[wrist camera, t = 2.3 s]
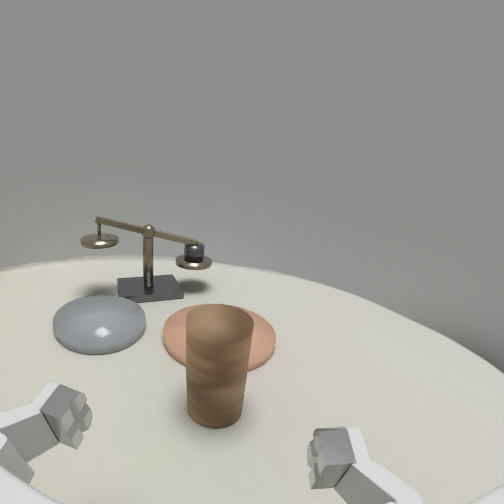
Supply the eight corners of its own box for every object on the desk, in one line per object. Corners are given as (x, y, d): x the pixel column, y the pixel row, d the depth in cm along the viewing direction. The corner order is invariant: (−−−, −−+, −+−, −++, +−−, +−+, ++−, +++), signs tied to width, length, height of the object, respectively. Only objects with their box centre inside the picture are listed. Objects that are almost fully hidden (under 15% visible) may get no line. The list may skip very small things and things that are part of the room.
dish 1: (37, 338, 27) (34, 330, 26) (84, 296, 39) (83, 289, 39) (123, 365, 27) (121, 357, 26) (158, 310, 39) (158, 303, 39)
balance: (85, 307, 36) (78, 222, 33) (86, 287, 42) (81, 212, 38) (216, 294, 47) (222, 218, 43) (201, 277, 53) (206, 210, 49)
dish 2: (148, 362, 28) (147, 354, 28) (178, 305, 42) (178, 298, 41) (276, 380, 28) (278, 372, 28) (272, 317, 42) (273, 310, 41)
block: (182, 423, 21) (178, 333, 18) (192, 387, 26) (193, 300, 23) (239, 431, 21) (253, 343, 18) (242, 393, 26) (254, 308, 23)
